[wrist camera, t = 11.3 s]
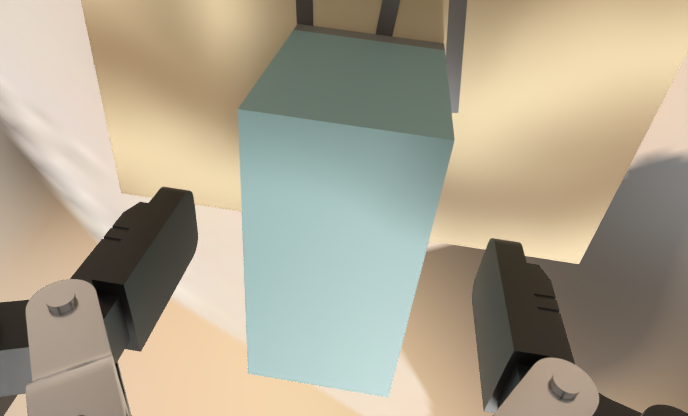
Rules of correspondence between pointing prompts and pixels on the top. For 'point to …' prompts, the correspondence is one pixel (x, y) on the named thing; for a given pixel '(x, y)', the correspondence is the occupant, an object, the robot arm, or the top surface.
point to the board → (464, 87)
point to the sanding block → (339, 202)
